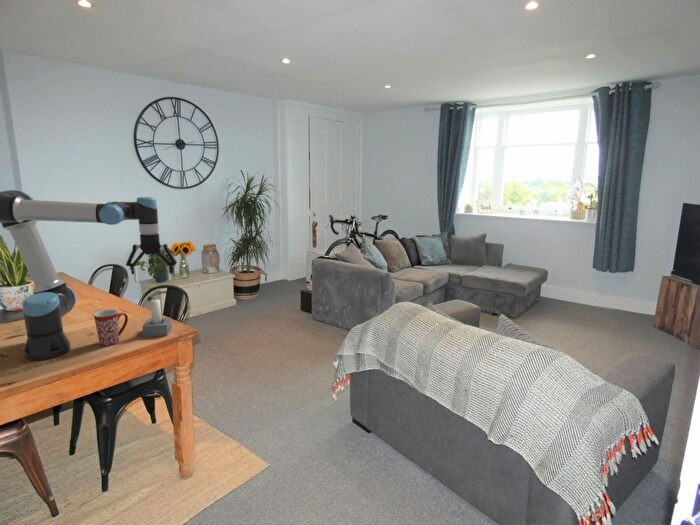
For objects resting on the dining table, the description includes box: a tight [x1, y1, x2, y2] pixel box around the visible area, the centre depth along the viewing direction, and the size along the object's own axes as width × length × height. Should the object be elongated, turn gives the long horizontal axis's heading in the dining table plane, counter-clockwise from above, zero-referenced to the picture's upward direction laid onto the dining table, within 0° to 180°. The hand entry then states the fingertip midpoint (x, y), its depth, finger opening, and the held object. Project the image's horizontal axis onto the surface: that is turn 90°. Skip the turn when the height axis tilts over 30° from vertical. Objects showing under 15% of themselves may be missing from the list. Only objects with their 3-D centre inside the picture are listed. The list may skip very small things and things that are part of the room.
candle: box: [149, 298, 162, 324], centre depth 190 cm, size 4×4×15 cm
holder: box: [141, 317, 173, 338], centre depth 191 cm, size 10×10×5 cm
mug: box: [93, 309, 129, 347], centre depth 179 cm, size 13×9×14 cm
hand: (153, 280), depth 186 cm, fingers open, 13 cm apart
